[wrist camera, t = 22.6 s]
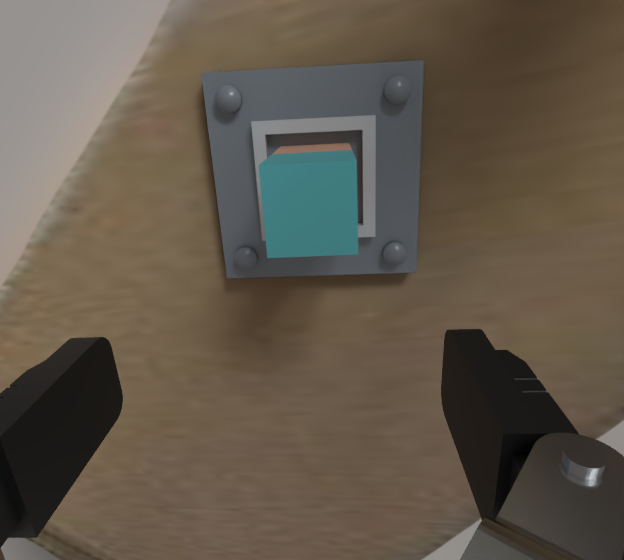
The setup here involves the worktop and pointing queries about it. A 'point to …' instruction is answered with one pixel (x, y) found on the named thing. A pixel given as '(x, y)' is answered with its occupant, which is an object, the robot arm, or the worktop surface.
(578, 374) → the worktop surface
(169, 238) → the worktop surface
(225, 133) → the plate
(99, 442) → the robot arm
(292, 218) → the teal block
